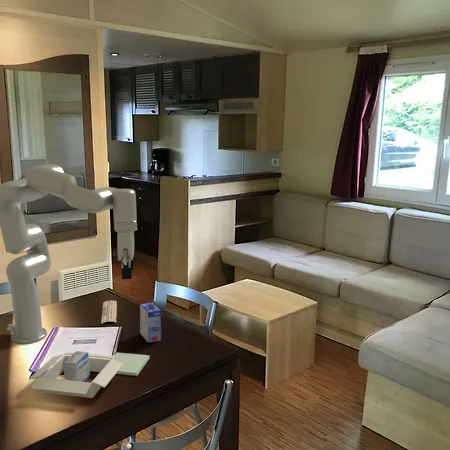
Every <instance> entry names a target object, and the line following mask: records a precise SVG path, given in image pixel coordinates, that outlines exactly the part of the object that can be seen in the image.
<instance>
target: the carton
mask: <svg viewBox="0 0 450 450" xmlns="http://www.w3.org/2000/svg"><path fill="white" fill-rule="evenodd" d="M75 352H76V351H75ZM75 352H73V351H72V352H71V351H69V352H65V353H64V354H59V355H55V356H52V357H51V358H50V359H49V360H48V361H46V363H44V365H42V366H41V367H40V368H38V370H37V371H36V372H35V373H33V374H32V375H31V376H30V377H29V378H28V380H33V379H36V380H35V382H34V384H33V385H32V387H31V390H38V391H39V392H40V393H43V394H44V393H45V394H51V395H59V396H60V395H62V396H71V397H80V398H88V399H89V398H90V399H93V398H94V397H95V396H96V394H97V393H98V392H99V391H100V390H101V388H104V389H105V387H107V385H108V384H109V383H110V382H111V380H113V378H114V376H116V373H117V372H118V370H119V369H120V368H121V367H122V365H123V364H122V363H120V362H118V361H116V360H113V359H114V358H117V356H114V355H106V354H95V353H94V354H93V353H88V355H89V369H90V372H95V373H97V372H98V374H97V375H96V377H95V378H94V379H93V380H92V381H91V382H89V381H87V382H86V381H85V382H80V381H70V380H65V379H58V377H59V376H60V375H61V374H62V373H64V362H65V361H66V360H68V359H69V358H70V357H71V356H72V355H73V354H74V353H75ZM111 359H112V360H111Z"/></svg>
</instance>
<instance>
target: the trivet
mask: <svg viewBox="0 0 450 450" xmlns="http://www.w3.org/2000/svg"><path fill="white" fill-rule="evenodd" d="M113 356H117V358H114V359H113V360H116V361H118V362H120V363H122V364H123V365H122V367H121V368H120V369H119V370H118V372H117V373H116V374H117V375H125V376H135V377H137V376H138V375H139V374H140V372H141V371H142V369H143V368H144V367H145V365H146V364H147V362H148V361H149V360H150V358H151V357H150V355H146V354H139V353H138V354H136V353H125V352H116V353H115V354H114V355H113ZM110 360H112V359H110ZM116 374H115V375H116Z"/></svg>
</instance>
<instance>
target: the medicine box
mask: <svg viewBox="0 0 450 450" xmlns="http://www.w3.org/2000/svg"><path fill="white" fill-rule="evenodd" d="M88 354H89V352H87V351H81V350H80V351H78V350H77V351H75V353H74V354H73V355H70V356H71V357H70V358H69V359H68V360H66V361H65V362H64V371H63V373H64V380H70V381H80V382H86V381H87V380H88V379H89V378H90V377H91V371H90V369H89V358H90V357H89V355H88Z"/></svg>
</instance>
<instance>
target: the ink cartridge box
mask: <svg viewBox="0 0 450 450" xmlns="http://www.w3.org/2000/svg"><path fill="white" fill-rule="evenodd" d="M139 309H140V310H139V317H140V318H139V319H140V320H139V321H140V324H139V327H140V328H139V329H140V332H139V333H140V335H141V336H142V337H143V338H144V339H145V341H146V342H147V343H148V344H150V343H155V342H161V341H162V319H161V318H162V310H161V309H160V308H158V306H156V301H154V299H151V300H150V302H147V303H140V304H139Z"/></svg>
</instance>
